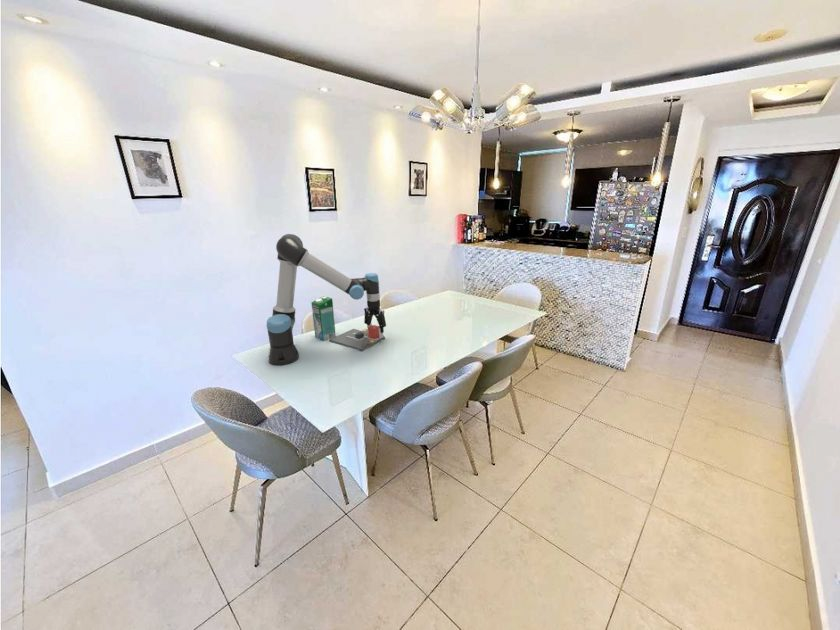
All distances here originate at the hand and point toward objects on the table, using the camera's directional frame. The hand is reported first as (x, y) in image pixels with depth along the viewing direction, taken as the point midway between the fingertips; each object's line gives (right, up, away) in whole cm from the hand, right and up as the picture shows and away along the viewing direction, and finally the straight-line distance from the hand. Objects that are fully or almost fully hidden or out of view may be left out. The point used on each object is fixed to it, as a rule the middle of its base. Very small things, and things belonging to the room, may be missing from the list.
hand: (376, 336), depth 205 cm
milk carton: (-32, -1, +6) cm, 33 cm away
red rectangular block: (-1, -1, +1) cm, 2 cm away
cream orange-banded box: (-7, 0, +4) cm, 8 cm away
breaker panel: (-11, -2, +1) cm, 12 cm away
